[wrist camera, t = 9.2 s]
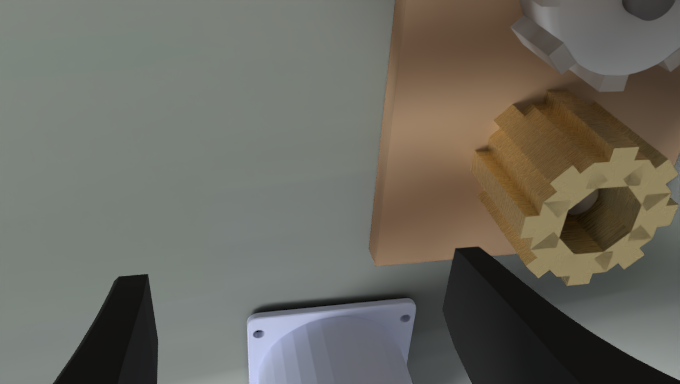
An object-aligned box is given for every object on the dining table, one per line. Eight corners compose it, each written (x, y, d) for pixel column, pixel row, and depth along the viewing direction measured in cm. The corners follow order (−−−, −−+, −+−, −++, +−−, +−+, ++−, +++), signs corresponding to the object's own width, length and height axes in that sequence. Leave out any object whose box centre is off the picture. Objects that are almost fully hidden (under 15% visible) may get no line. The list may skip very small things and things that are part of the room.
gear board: (627, 227, 30) (690, 291, 26) (368, 248, 27) (397, 323, 23) (802, -217, 20) (945, -217, 16) (421, -250, 17) (485, -259, 13)
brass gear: (584, 209, 27) (646, 277, 23) (460, 219, 26) (505, 292, 22) (625, 87, 23) (705, 143, 20) (485, 92, 22) (543, 152, 19)
